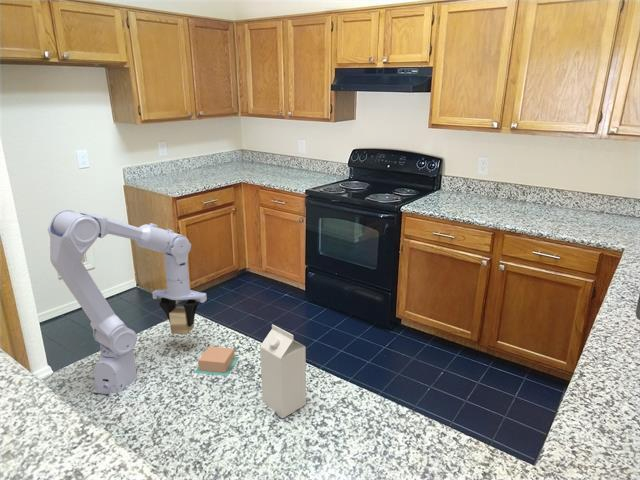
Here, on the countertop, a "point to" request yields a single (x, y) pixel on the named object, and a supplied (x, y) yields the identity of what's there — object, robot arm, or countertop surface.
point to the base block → (216, 359)
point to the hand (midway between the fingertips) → (182, 324)
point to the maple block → (179, 321)
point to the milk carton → (283, 372)
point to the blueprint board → (219, 373)
